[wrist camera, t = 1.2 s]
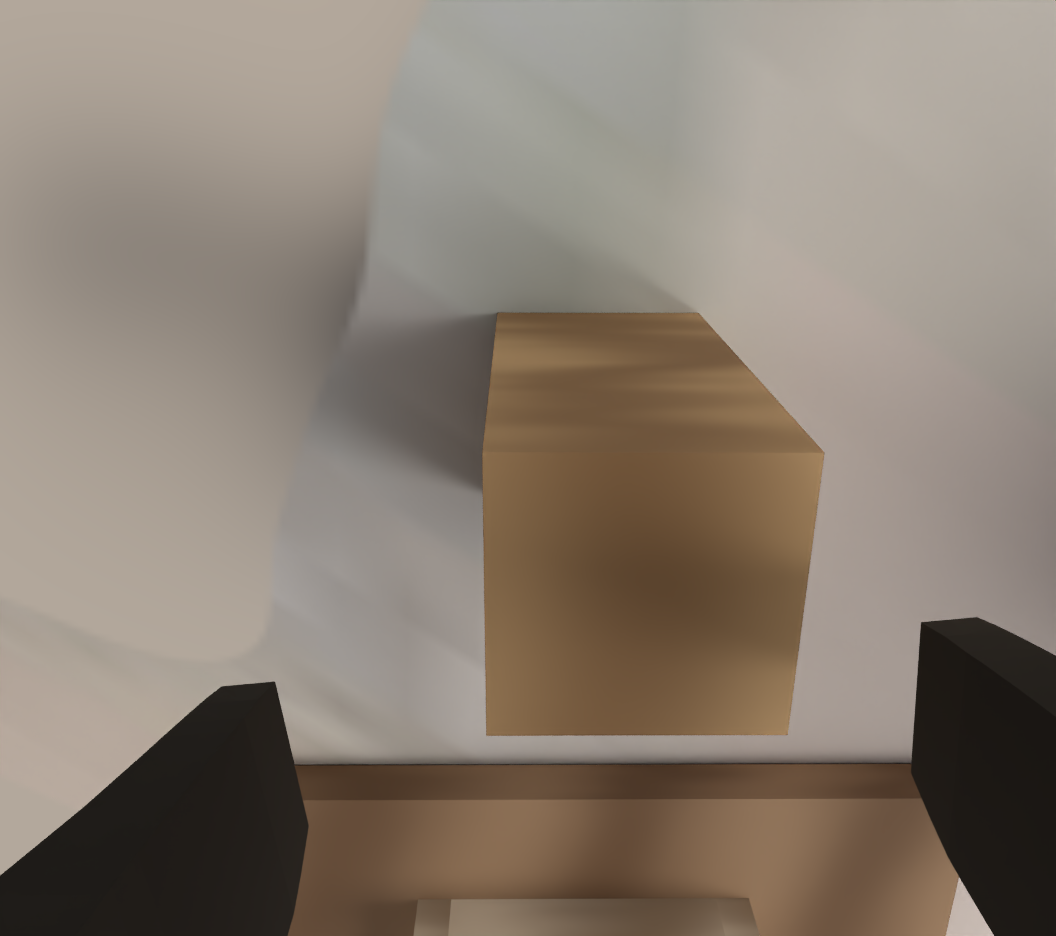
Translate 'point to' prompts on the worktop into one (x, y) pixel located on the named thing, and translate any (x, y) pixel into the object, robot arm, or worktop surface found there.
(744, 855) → the walnut board
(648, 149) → the worktop surface
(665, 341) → the oak peg
